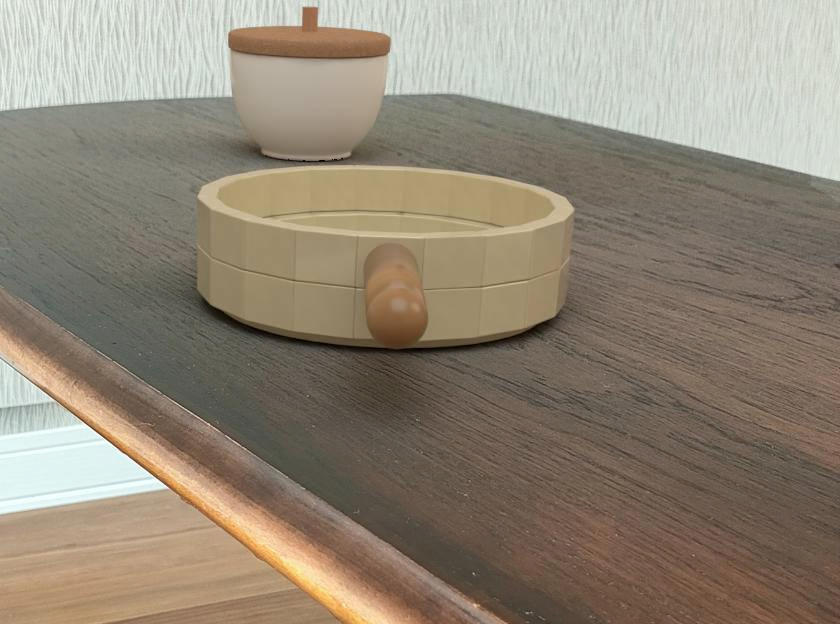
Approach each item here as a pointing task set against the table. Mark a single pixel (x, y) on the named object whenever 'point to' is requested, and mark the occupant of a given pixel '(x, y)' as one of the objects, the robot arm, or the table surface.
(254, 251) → the pan
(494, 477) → the table surface
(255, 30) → the trinket box
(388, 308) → the pan handle
